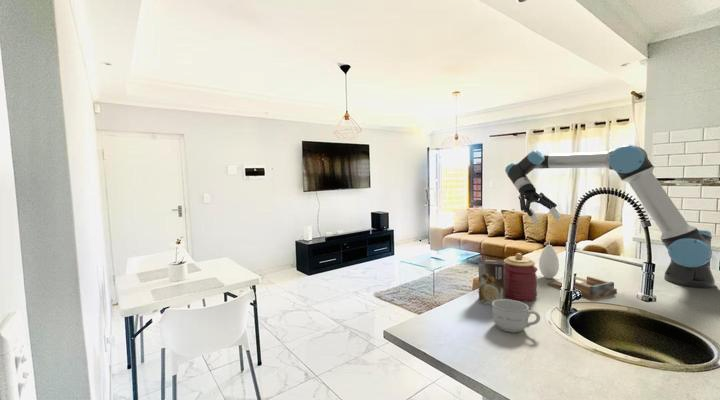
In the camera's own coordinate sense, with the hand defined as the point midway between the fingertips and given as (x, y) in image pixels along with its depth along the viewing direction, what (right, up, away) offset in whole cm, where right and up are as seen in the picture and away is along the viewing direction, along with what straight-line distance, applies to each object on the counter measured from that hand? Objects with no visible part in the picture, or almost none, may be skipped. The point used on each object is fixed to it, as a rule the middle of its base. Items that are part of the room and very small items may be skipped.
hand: (547, 220), depth 155 cm
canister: (-27, -29, -26) cm, 47 cm away
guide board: (+2, -27, -20) cm, 34 cm away
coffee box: (-40, -30, -31) cm, 59 cm away
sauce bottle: (-3, -27, -6) cm, 28 cm away
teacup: (-41, -32, -52) cm, 74 cm away
